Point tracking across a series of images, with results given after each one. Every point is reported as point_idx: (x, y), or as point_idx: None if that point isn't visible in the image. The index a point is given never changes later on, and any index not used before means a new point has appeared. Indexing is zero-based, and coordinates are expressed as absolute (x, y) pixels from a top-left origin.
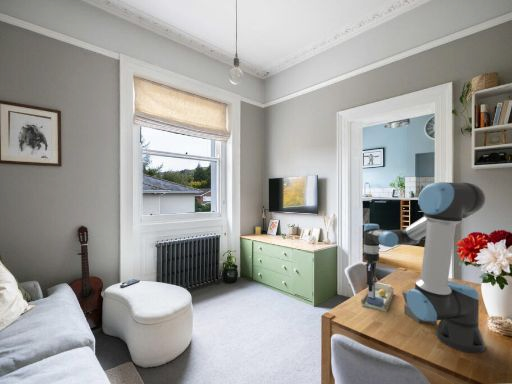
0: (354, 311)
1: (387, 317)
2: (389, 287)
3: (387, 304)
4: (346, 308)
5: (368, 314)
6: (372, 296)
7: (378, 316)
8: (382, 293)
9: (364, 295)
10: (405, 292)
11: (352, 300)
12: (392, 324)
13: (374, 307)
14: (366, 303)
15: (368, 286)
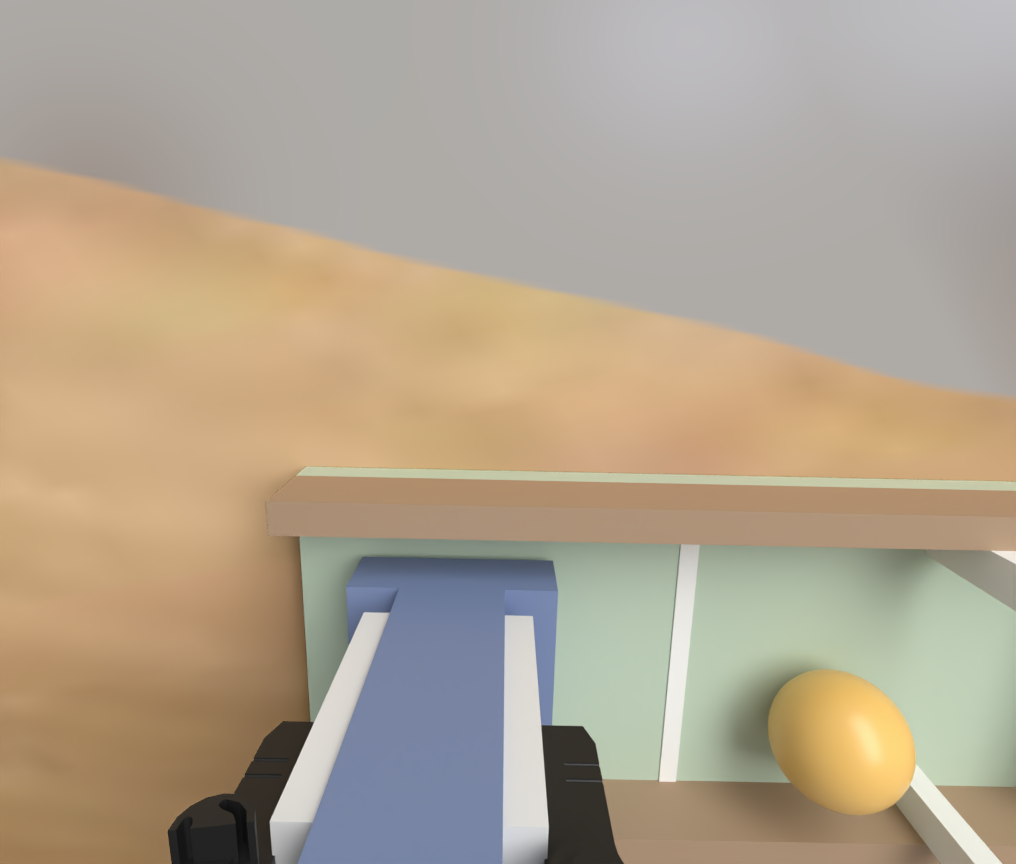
0: (26, 418)
1: (163, 799)
2: None
3: None
4: (37, 284)
5: (77, 601)
6: None
7: (112, 712)
8: (778, 756)
9: (487, 514)
10: None
11: (421, 294)
12: (20, 857)
13: (310, 651)
14: (355, 540)
15: (291, 785)
